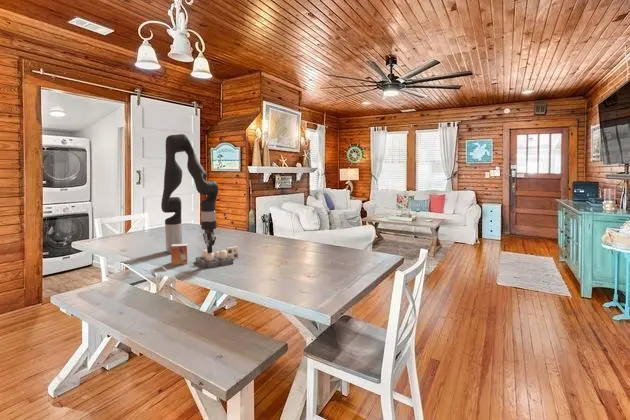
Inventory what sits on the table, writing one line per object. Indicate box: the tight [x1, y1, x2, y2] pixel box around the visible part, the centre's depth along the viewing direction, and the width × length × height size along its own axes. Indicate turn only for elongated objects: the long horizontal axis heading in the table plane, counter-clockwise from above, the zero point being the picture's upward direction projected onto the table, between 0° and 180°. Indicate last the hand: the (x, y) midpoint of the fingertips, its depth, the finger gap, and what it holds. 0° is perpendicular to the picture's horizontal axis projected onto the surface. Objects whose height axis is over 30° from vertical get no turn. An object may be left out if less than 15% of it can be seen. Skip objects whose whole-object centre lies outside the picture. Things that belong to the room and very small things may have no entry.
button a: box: [206, 251, 215, 262], centre depth 177 cm, size 4×4×4 cm
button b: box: [219, 249, 227, 260], centre depth 181 cm, size 4×4×4 cm
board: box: [195, 254, 234, 269], centre depth 182 cm, size 15×15×3 cm
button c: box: [201, 249, 207, 259], centre depth 183 cm, size 4×4×4 cm
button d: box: [213, 250, 220, 258], centre depth 187 cm, size 4×4×4 cm
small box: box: [170, 243, 189, 266], centre depth 181 cm, size 8×6×10 cm
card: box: [225, 246, 240, 260], centre depth 192 cm, size 3×7×7 cm, turn 127°
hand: (209, 252), depth 176 cm, fingers closed
